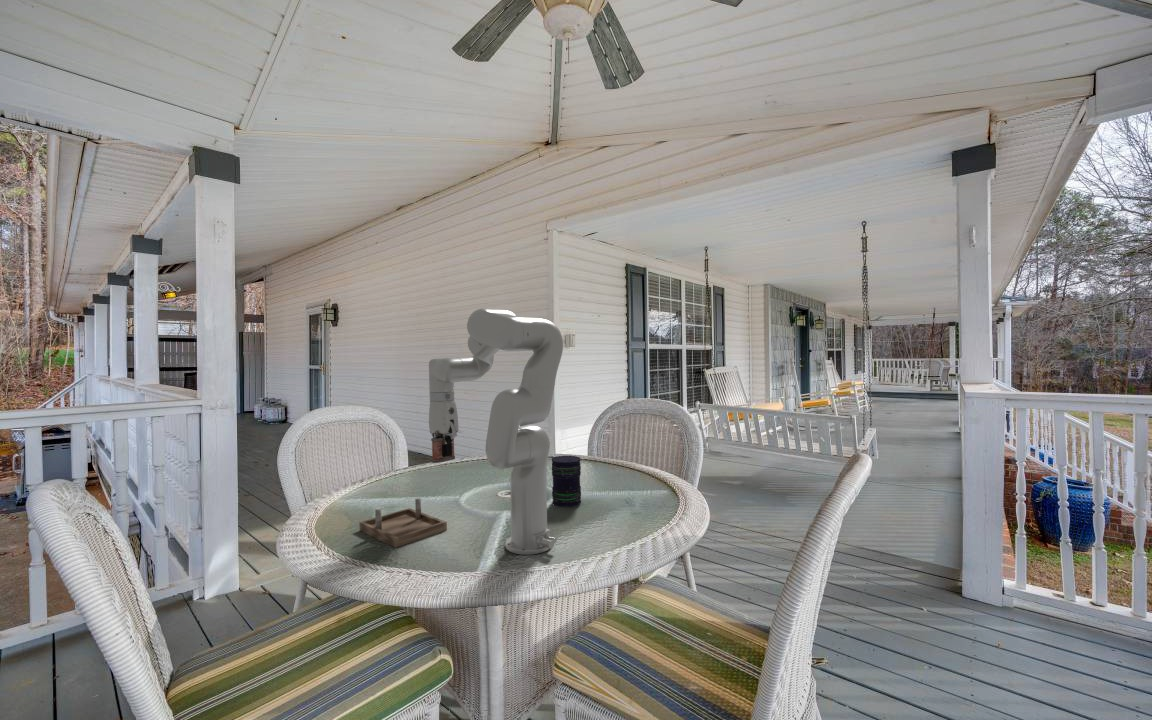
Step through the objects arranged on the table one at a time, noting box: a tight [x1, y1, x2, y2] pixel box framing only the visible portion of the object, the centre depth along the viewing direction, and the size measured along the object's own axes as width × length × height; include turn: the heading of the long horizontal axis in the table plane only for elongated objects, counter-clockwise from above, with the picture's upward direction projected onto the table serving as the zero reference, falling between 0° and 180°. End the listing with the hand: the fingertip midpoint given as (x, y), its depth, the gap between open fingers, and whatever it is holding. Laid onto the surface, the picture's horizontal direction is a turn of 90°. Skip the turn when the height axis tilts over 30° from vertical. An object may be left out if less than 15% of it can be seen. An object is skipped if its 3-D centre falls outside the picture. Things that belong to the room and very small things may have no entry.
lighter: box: [431, 431, 456, 464], centre depth 154 cm, size 8×3×10 cm, turn 142°
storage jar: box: [551, 455, 582, 508], centre depth 164 cm, size 10×10×15 cm
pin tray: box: [359, 497, 448, 549], centre depth 141 cm, size 20×16×7 cm
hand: (443, 454), depth 154 cm, fingers closed on lighter, 3 cm apart
